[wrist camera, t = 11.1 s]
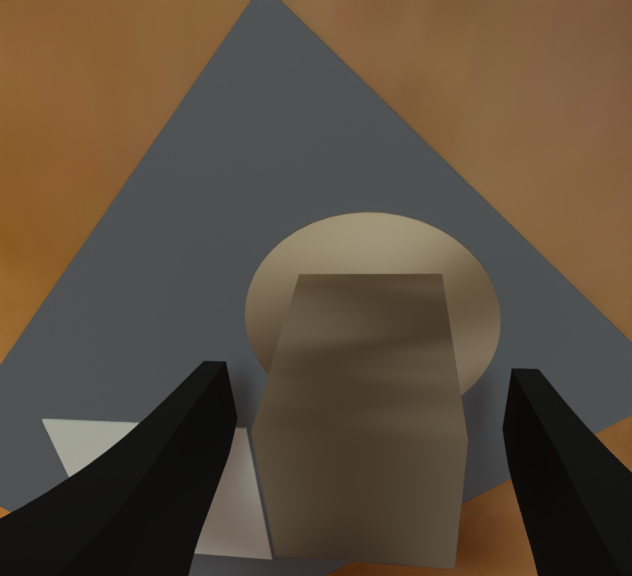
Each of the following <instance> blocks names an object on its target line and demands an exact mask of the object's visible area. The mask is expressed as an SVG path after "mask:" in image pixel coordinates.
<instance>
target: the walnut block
mask: <svg viewBox="0 0 632 576" xmlns="http://www.w3.org/2000/svg"><path fill="white" fill-rule="evenodd" d="M251 434H252V439H253V444H254V449H255V454H256V459H257V464H258V469H259V474H260V479H261V484H262V490H263V495H264V500H265V505H266V510H267V515H268V520H269V525H270V530H271V535H272V540H273V545H274V550H275V555H276V556H287V557H300V558H313V559H326V560H339V561H352V562H365V563H378V564H391V565H404V566H417V567H430V568H443V569H455V562H456V552H457V543H458V533H459V523H460V514H461V504H462V494H463V485H464V475H465V465H466V456H467V446H468V437H467V431H466V424H465V418H464V411H463V405H462V399H461V392H460V386H459V379H458V373H457V366H456V360H455V354H454V347H453V341H452V334H451V328H450V322H449V315H448V309H447V302H446V296H445V290H444V283H443V277H442V274H299V276H298V280H297V283H296V286H295V289H294V293H293V296H292V299H291V302H290V306H289V309H288V312H287V316H286V319H285V322H284V325H283V329H282V332H281V335H280V338H279V342H278V345H277V348H276V352H275V355H274V358H273V361H272V365H271V368H270V371H269V374H268V378H267V381H266V384H265V388H264V391H263V394H262V397H261V401H260V404H259V407H258V410H257V414H256V417H255V420H254V424H253V427H252V430H251Z"/></svg>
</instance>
